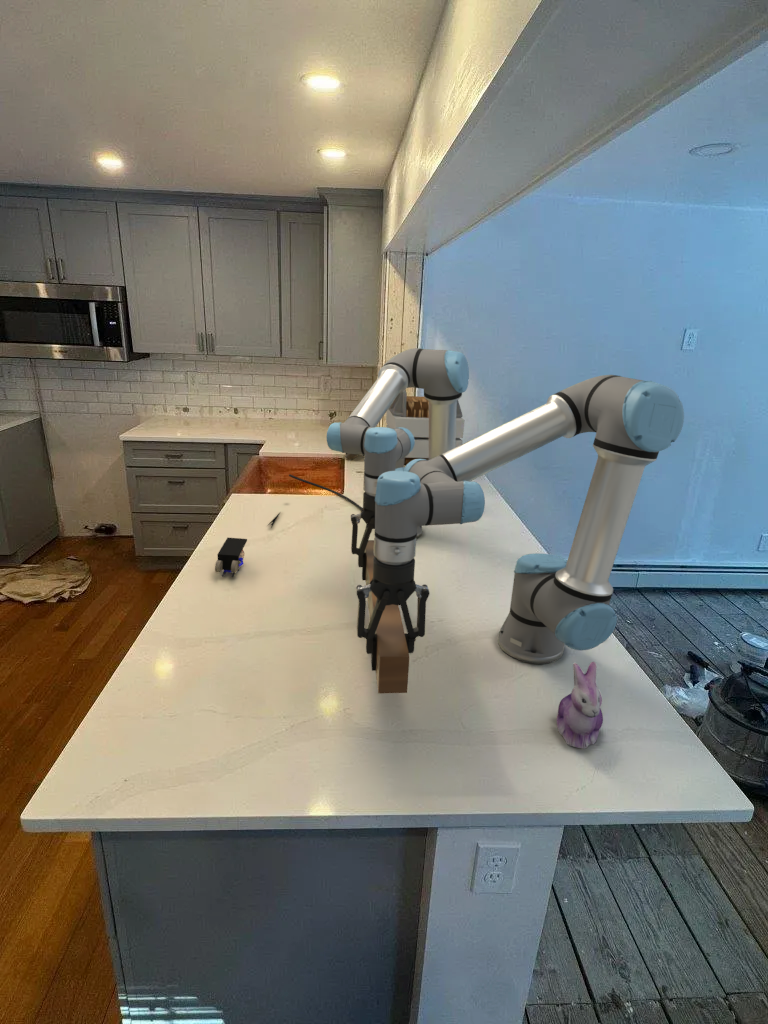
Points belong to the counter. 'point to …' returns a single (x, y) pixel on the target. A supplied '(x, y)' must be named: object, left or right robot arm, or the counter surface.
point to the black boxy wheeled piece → (230, 556)
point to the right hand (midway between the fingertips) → (389, 666)
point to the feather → (273, 520)
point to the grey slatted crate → (417, 424)
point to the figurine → (581, 709)
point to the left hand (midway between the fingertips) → (375, 577)
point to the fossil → (351, 456)
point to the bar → (388, 640)
